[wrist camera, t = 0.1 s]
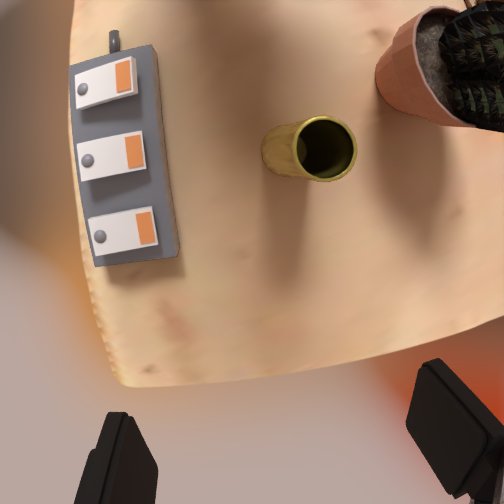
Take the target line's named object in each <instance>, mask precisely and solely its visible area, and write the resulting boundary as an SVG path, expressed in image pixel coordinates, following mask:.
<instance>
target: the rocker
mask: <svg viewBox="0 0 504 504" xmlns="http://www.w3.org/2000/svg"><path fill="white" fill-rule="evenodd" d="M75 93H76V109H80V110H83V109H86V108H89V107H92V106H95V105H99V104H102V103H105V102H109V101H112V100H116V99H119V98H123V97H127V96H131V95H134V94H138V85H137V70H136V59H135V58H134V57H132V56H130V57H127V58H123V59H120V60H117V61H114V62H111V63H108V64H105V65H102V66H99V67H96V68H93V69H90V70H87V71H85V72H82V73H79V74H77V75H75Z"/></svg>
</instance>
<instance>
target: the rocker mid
mask: <svg viewBox="0 0 504 504" xmlns="http://www.w3.org/2000/svg"><path fill="white" fill-rule="evenodd" d="M77 152H78V160H79V168H80V175H81V182H82V181H87V180H91V179H96V178H101V177H106V176H110V175H115V174H121V173H126V172H131V171H137V170H142V169H147V167H146V159H145V151H144V143H143V134H142V131H136V132H130V133H125V134H120V135H115V136H110V137H105V138H100V139H96V140H91V141H87V142H82V143H78V144H77Z"/></svg>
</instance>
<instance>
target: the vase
mask: <svg viewBox="0 0 504 504" xmlns="http://www.w3.org/2000/svg"><path fill="white" fill-rule="evenodd" d="M356 156H357V144H356V140H355V137H354V135H353V133H352V132H351V130H350V129H349V128H348V127H347V125H346V124H344V123H343V122H342V121H340V120H338V119H336V118H334V117H331V116H327V115H322V116H317V117H313V118H310V119H308V120H305V121H302V122H297V123H294V124H292V125H284V126H279V127H276V128H275V129H273V130H272V131H270V132H269V133H268V134H267V136H266V137H265V139H264V141H263V144H262V157H263V160H264V162H265V164H266V165H267V167H268V168H269V169H270V170H271V171H273V172H274V173H276V174H278V175H281V176H287V177H291V176H298V177H302V178H306V179H310V180H314V181H317V182H331V181H334V180H337V179H340V178H342V177H343V176H344V175H346V174H347V173H348V172H349V171H350V170H351V169H352V167H353V165H354V162H355V159H356Z"/></svg>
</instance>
